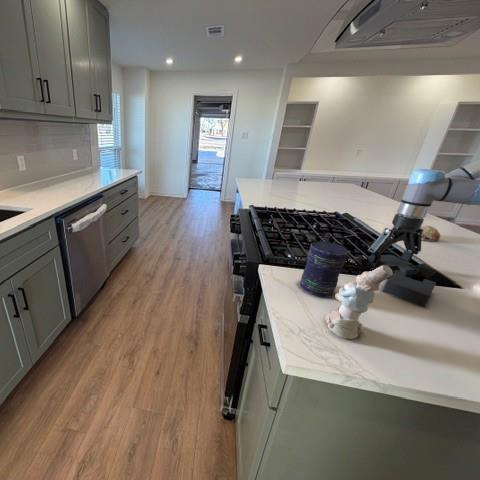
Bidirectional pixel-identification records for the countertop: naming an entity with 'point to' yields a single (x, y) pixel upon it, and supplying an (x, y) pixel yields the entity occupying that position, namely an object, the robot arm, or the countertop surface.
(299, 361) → the countertop surface
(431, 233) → the bread roll
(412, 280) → the base pad
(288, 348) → the countertop surface
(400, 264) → the loose pad
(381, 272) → the figurine
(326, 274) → the storage jar
